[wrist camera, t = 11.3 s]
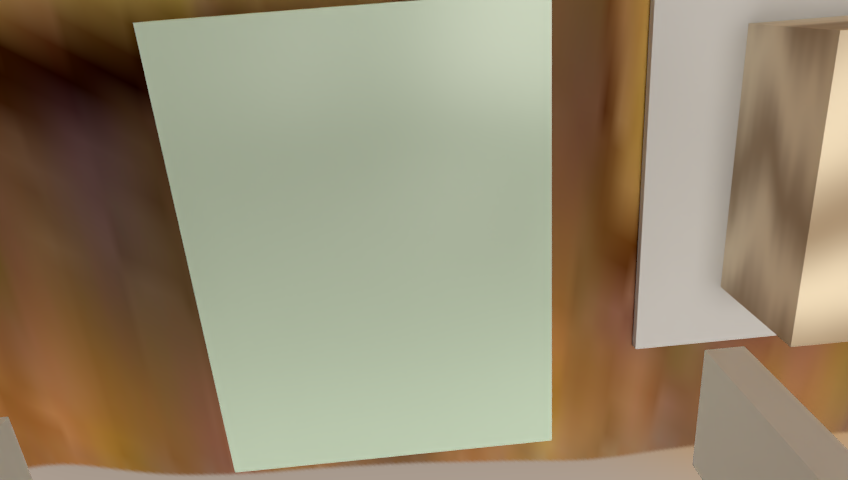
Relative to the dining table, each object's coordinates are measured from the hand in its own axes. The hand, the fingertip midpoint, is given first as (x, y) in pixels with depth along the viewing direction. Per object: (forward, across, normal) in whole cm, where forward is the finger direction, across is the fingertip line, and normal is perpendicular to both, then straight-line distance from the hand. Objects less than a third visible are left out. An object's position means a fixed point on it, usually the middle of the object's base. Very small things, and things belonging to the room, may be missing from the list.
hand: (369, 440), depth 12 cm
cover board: (+11, 0, 0) cm, 11 cm away
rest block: (+17, +19, 0) cm, 25 cm away
